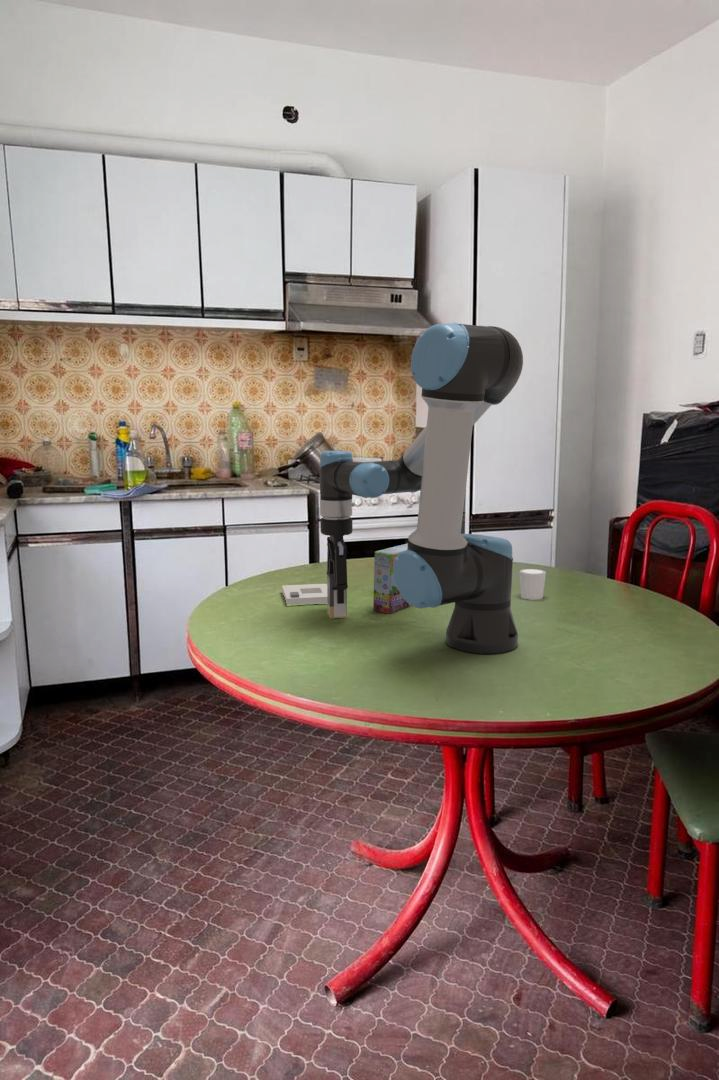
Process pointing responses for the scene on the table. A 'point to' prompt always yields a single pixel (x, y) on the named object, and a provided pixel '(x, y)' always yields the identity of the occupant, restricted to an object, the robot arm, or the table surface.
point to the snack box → (387, 581)
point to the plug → (332, 596)
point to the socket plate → (305, 594)
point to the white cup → (532, 583)
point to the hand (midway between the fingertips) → (337, 611)
